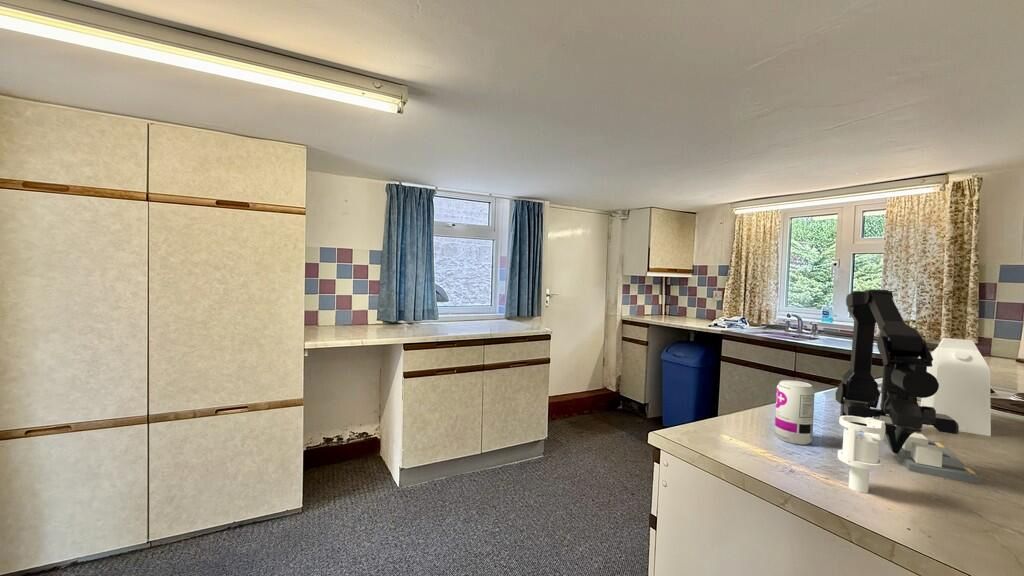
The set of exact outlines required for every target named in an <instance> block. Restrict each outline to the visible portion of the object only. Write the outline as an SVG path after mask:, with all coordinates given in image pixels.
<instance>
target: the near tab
mask: <svg viewBox="0 0 1024 576" xmlns="http://www.w3.org/2000/svg"><path fill="white" fill-rule="evenodd" d="M942 453H943V452H942V451H941V450H940V449H939V448H937V447H936V446H934V445H928V444H922V443H916V442H911V457H912V458H913V459H914V461H915V462H916V463H919V464H924V465H930V466H935V467H941V468H942Z"/></svg>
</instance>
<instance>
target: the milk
mask: <svg viewBox="0 0 1024 576" xmlns="http://www.w3.org/2000/svg"><path fill="white" fill-rule="evenodd" d="M930 353H931V355H932V357H933V361H932V367H927V372H928V373H930V374H932V375H933V376H934V377H935V378H936V379H937V381H938V383H939V388H938V390H937V392H936V393H935V394H934V395H932V396H930V397H927V398H920V405H919V406H927V407H933V408H934V409H935V410H936V413H938V414H945V415H947V416H949V417H950V418H952V419H953V420H955V421H956V422H957V423H958V426H959V431H958V432H963V433H966V434H967V433H968V434H975V435H981V436H988V437H991V433H992V431H991V429H992V428H991V422H992V421H991V420H992V419H991V417H992V415H991V413H992V412H991V370H990V367H989V365H988V363H987V361H986V360H985V359H984V357H983V355H982V354H981V352H980V350H979V349H978V347H977V345H976V344H975V342H974V340H972V339H964V338H963V339H961V338H949V337H948V338H947V337H943V338H941V340H940V342H939V344H938V345H937V347H936V348H935V349H934V350H933V351H932V352H930ZM929 427H930V428H935V427H934V426H932V425H929Z"/></svg>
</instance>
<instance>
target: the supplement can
mask: <svg viewBox="0 0 1024 576" xmlns="http://www.w3.org/2000/svg"><path fill="white" fill-rule="evenodd" d="M815 393H816V391H815V389H814V388H813V385H812V384H810V383H808V382H804V381H799V380H792V379H791V380H790V379H782V380H780V381H779V382H778V384H777V386H776V395H775V414H774V415H775V416H774V417H775V418H774V420H775V421H774V435H775V436H776V437H777V438H778V439H779V440H781V441H784V442H786V443H790V444H792V445H800V446H803V445H804V446H805V445H806V446H807V445H809V444H810V443H812V442H813V432H814V431H813V430H814V416H815V415H814V413H815V395H816V394H815Z"/></svg>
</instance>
